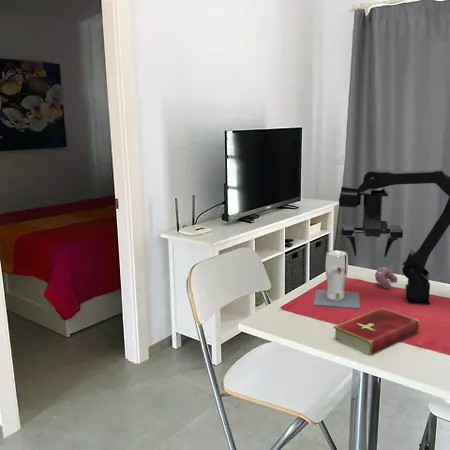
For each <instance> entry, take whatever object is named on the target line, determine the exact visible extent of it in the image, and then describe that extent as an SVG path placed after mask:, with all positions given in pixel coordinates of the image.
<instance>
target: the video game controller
mask: <svg viewBox="0 0 450 450" xmlns="http://www.w3.org/2000/svg"><path fill="white" fill-rule="evenodd" d="M374 278H375V280H376V283H379V285H381V286H382V287H383V288H384V289H386V290H390V289H391V288H392V285H391V283H390V282H393V283H397V282H398V276H396V275H395V273H393V272H392V271H391V270H390V269H389V268H388V267H387V266H385V267H384V266H383V267H379V268H378V269H377V270H376V272H375V273H374ZM389 281H390V282H389Z"/></svg>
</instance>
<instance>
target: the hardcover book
mask: <svg viewBox="0 0 450 450" xmlns="http://www.w3.org/2000/svg"><path fill="white" fill-rule="evenodd" d="M333 329H335V332H334V333H335V334H334V335H335V336H334V338H335V339H334V340H336V341H340V342H342V343H344V344H346V345H348V346H351V347H353V348H354V349H356V350H357V349H358V350H360V351H362V352H364V353H366V354H368V355H369V356H371V355H373V354H375V353H378V352H380V351H382V350H384V349H387V348H388V347H391V346H393V345H395V344H397V343H399V342H401V341H403V340H406V339H407V338H410V337H412V336H414V335H416V334H418V333H419V331H420V321H419V319H416V318H414V317H410V316H407V315H405V314H402V313H400V312H396V311H393V310H390V309H387V308H385V307H379V308H377V309H375V310H373V311H369V312H367V313H364V314H362V315H360V316H356V317H355V318H352V319H349V320H346V321H344V322H342V323H339V324H336V325H334V326H333Z"/></svg>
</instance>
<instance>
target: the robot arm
mask: <svg viewBox="0 0 450 450" xmlns="http://www.w3.org/2000/svg"><path fill="white" fill-rule="evenodd" d="M362 181H363V182H362V183H361V184H359V185H358V187H353V186H346V185H345V186H341V188H340V189H341V190H340V194H339V197H338V206H339V208H346V209H348V208H349V209H359V206H362V204H363V208H362V225H361V226H355V223H343V224H341V234H340V235H341V236H345V237H344V238H347V239H349V242H350V244H351V247H352V250H353V254H354V256H355V257H356V256H357V245H356V236H355V235H356V234H355V233H357V234H364V236H365V237H367V238H369V237H375V238H380V237H381V235H382V234H383V235H386V240H385V245H384V249H383V257H384V258H386V257H387V255H388V252H389V250H390V248H391V246H392V244H393V243H394V242H395V241H398V239H402V238H403V235H404V229H403V228H402V227H401V226H400V225H390V224H389V221H388V220H382V213H383V212H382V211H383V197H389V195H390V192H389V191H387V190H386V187H390V186H394V185H395V186H396V185H412V184H413V185H420V184H422V185H423V184H434V185H437V187H438V188H439V189H441V191H443V192H444V193H445V194H446V195H447V199H446V202H445V204H444V207H443V209H442V211H441V212H440V215H438V217H437V219H436V220H435V222H434V223H433V225H432V227H431V228H430V230H429V231H428V233H427V235H426V236H425V238H424V239H423V241H422V242H421V243H420V245H419V247H418V248H417V249H416V250H413V249H412V248H411V249H409V252H408V255H407V256H406V257H404V259H403V261H402V274H403V275H404V277H406V278H407V284H405V289H404V292H405V293H404V297H405V300H406V301H407V303H408V304H418V305H420V304H421V305H422V304H423V305H431V302H430V292H431V291H430V290H431V289H430V288H431V283H430V281H429V280H430V275H431V273H430V272H429V270H428V269H426V264H427V261H428V259H429V257H430V255H431V254H432V252H433V250H434V249H435V248H436V246H437V244H438V243H439V241H440V240H441V238H442V236H444V234H445V233H446V231H447V229H448V228H449V226H450V175H448V174H446V172H445V171H444V170H442V169H439V168H438V169H437V168H436V169H432V170H431V169H429V170H407V171H391V170H387V169H386V170H385V169H378V168H374V169H371V170H369V171H367V172H366V173H365V174H364V176H363V180H362ZM369 189H370V190H371V191H370V192H368V191H369ZM366 191H367V192H366ZM388 224H389V225H388Z"/></svg>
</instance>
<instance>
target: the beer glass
mask: <svg viewBox="0 0 450 450" xmlns="http://www.w3.org/2000/svg"><path fill="white" fill-rule="evenodd" d="M325 255H326V256H325V276H326V283H327V285H326V286H327V288H326V290H327V293H326V298H327V299H329V300H332V301H342V300H344V299H345V292H344V291H345V287H346V286H345V285H346V279H347V276H348V269H349V257H348V256H349V255H348V252H346V251H343V250H328V251H326V254H325Z"/></svg>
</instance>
